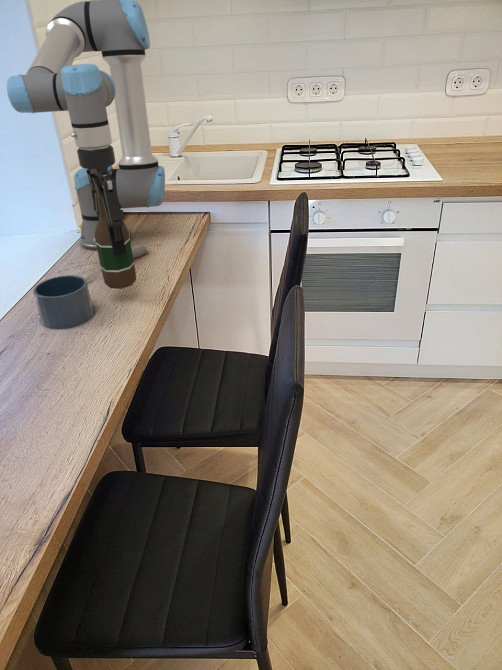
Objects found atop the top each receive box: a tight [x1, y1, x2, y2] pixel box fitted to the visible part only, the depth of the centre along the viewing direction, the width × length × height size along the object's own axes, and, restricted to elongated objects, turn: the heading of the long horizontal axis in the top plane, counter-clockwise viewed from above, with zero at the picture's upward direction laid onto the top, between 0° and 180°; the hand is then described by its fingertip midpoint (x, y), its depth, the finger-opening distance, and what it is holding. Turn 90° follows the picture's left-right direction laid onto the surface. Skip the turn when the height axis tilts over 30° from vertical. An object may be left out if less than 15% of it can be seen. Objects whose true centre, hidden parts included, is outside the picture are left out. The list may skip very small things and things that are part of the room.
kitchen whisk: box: [52, 244, 151, 284], centre depth 145 cm, size 6×34×6 cm, turn 145°
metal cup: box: [32, 274, 94, 330], centre depth 123 cm, size 12×12×8 cm
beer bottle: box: [94, 186, 137, 290], centre depth 122 cm, size 8×8×24 cm
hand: (114, 247), depth 123 cm, fingers closed on beer bottle, 7 cm apart
